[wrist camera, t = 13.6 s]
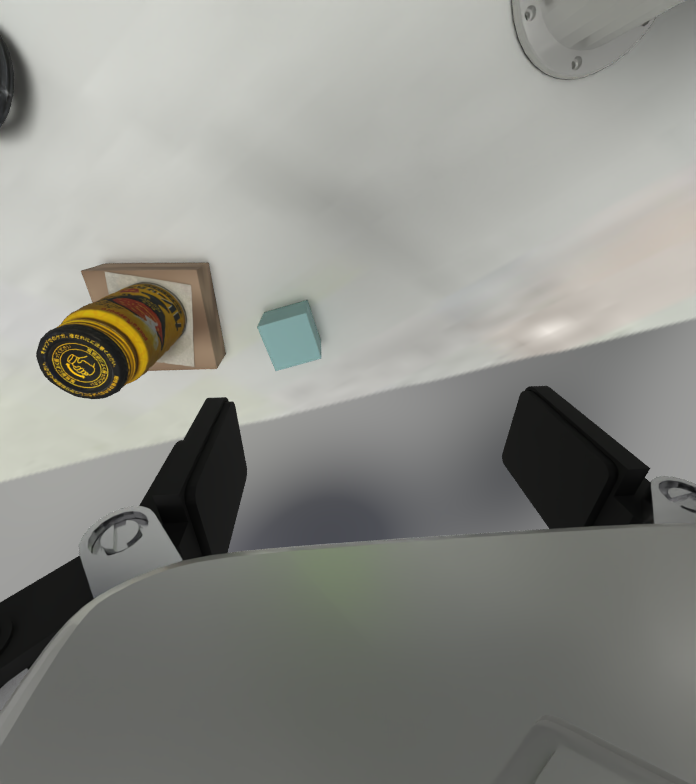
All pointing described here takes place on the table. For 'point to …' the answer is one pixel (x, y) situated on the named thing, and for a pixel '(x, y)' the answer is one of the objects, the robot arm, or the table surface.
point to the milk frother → (5, 81)
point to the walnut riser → (203, 304)
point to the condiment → (119, 336)
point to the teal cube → (290, 335)
